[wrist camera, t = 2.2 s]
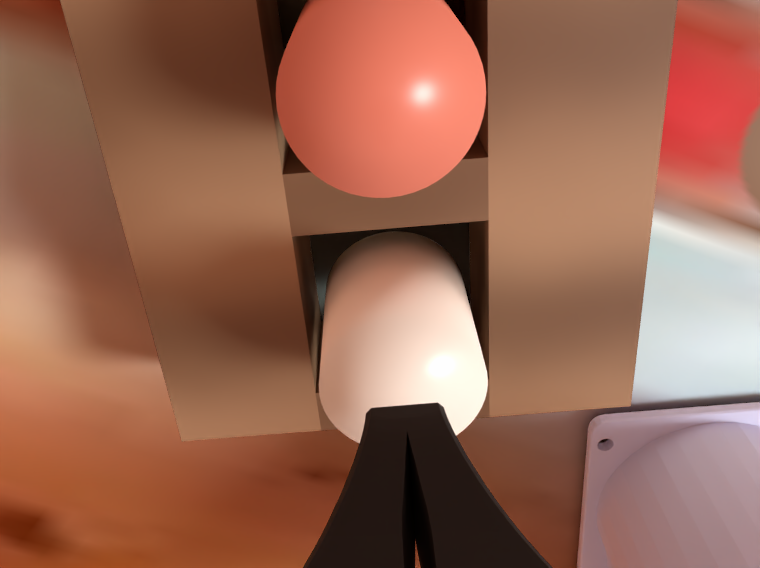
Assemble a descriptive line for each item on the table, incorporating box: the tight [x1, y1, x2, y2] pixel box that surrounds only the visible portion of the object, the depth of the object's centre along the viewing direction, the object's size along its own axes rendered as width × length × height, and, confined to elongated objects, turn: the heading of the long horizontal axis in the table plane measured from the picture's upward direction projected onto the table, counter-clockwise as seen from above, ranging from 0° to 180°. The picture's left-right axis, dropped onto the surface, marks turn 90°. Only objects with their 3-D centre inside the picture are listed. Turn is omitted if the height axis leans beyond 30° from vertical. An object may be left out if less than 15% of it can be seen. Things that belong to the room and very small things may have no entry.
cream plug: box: [319, 231, 488, 444], centre depth 17 cm, size 4×4×4 cm
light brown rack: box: [60, 0, 678, 441], centre depth 16 cm, size 19×12×4 cm, turn 4°
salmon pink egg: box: [276, 0, 486, 198], centre depth 14 cm, size 4×4×4 cm
